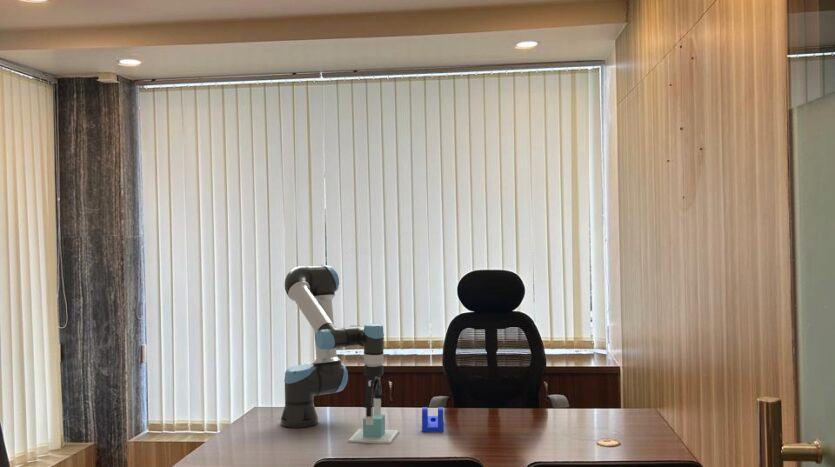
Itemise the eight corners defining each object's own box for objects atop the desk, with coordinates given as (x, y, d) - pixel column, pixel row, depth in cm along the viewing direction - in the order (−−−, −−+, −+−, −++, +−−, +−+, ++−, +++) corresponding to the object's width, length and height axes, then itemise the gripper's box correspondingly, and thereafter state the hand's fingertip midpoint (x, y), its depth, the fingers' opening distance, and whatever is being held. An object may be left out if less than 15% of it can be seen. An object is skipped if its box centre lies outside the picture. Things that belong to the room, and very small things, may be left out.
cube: (367, 432, 299) (367, 414, 299) (384, 432, 298) (384, 414, 298) (363, 436, 292) (362, 418, 292) (381, 437, 291) (381, 419, 291)
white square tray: (358, 430, 304) (358, 428, 304) (398, 432, 302) (398, 430, 302) (348, 442, 288) (348, 439, 288) (390, 443, 286) (390, 441, 286)
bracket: (443, 432, 301) (443, 409, 301) (422, 432, 302) (421, 409, 302) (443, 420, 319) (443, 399, 319) (423, 420, 320) (423, 399, 320)
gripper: (371, 358, 308) (371, 410, 308) (356, 370, 283) (355, 428, 284) (389, 358, 306) (389, 411, 307) (376, 371, 282) (375, 429, 282)
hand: (373, 419), depth 295 cm, fingers open, 13 cm apart
